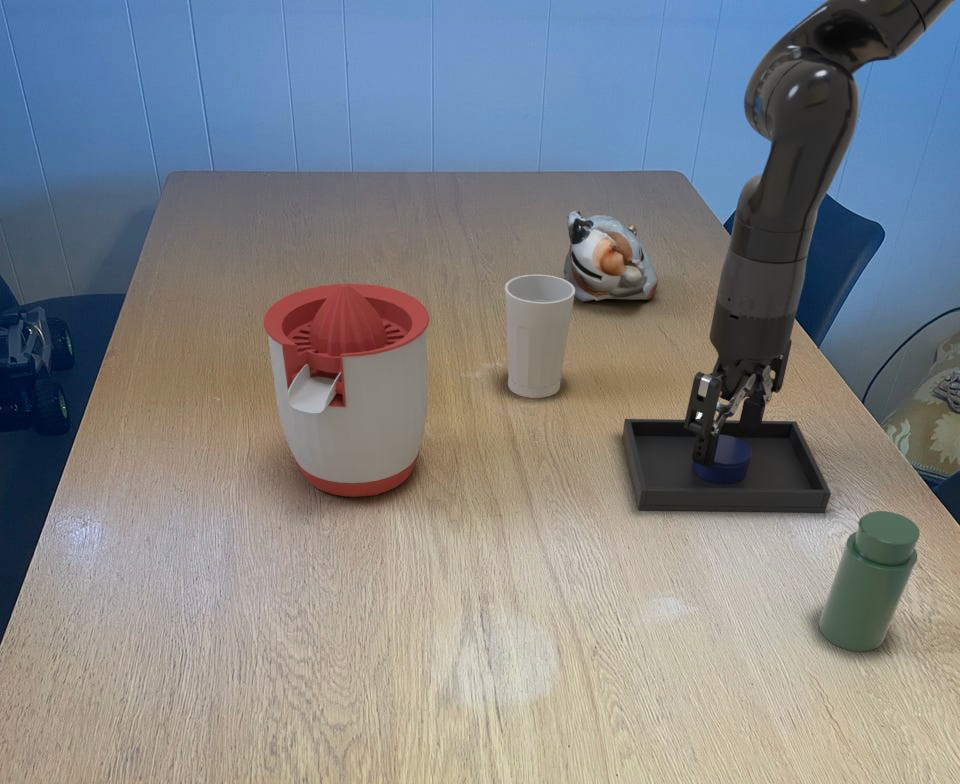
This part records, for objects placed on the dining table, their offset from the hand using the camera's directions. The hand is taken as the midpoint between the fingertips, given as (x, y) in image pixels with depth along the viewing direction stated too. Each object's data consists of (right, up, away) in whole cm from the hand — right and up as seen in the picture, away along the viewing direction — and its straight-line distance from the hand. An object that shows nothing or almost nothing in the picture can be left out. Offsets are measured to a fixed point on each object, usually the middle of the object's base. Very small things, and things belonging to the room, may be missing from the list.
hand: (725, 448), depth 101 cm
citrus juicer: (-39, -3, +1) cm, 39 cm away
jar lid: (0, 0, 0) cm, 1 cm away
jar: (+7, -19, -16) cm, 26 cm away
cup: (-19, +11, +16) cm, 27 cm away
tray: (0, -2, +2) cm, 3 cm away
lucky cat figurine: (-7, +29, +36) cm, 47 cm away
